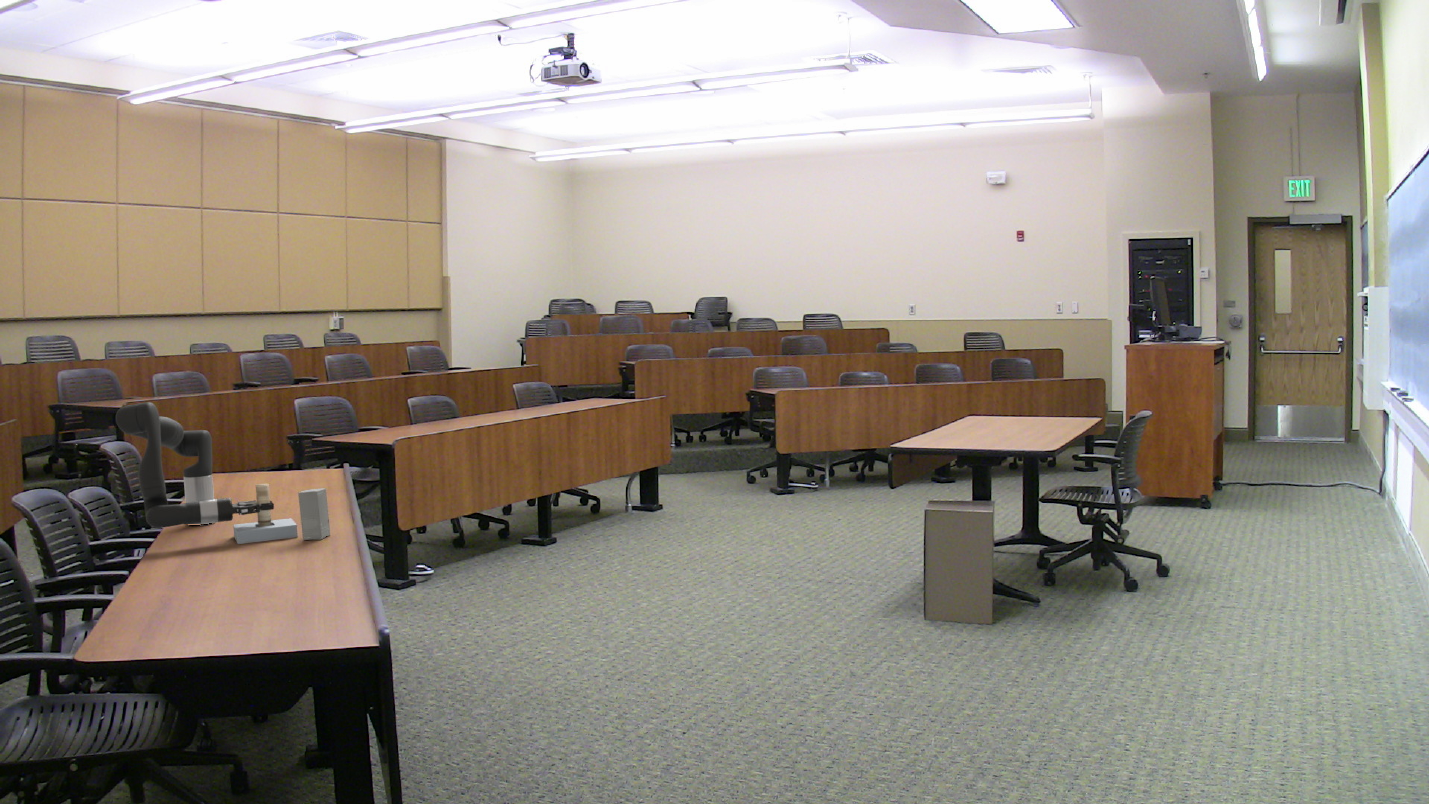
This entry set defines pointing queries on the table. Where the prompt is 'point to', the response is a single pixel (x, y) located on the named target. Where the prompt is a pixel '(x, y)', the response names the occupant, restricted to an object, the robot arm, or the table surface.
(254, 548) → the table surface
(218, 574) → the table surface
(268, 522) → the dowel
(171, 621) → the table surface
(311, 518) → the skincare box
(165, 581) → the table surface
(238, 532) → the seat board
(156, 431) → the robot arm
